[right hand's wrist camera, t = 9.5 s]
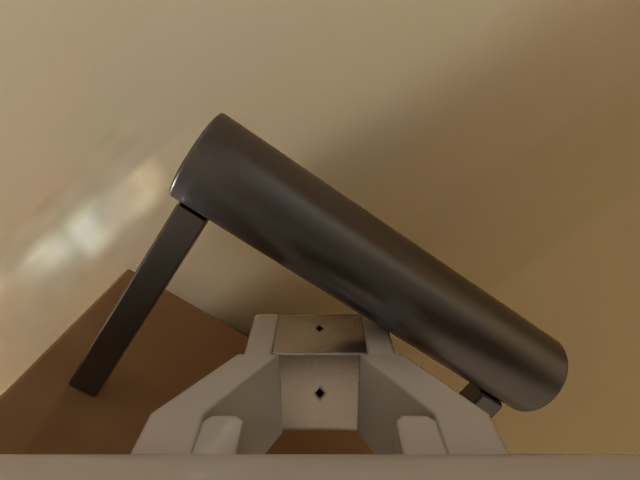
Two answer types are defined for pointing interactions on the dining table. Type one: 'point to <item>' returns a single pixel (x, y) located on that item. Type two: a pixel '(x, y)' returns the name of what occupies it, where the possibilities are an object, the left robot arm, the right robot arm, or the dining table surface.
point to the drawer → (225, 342)
